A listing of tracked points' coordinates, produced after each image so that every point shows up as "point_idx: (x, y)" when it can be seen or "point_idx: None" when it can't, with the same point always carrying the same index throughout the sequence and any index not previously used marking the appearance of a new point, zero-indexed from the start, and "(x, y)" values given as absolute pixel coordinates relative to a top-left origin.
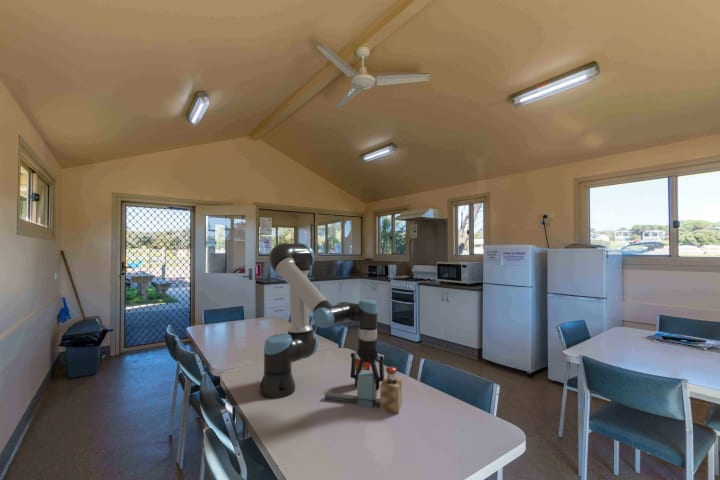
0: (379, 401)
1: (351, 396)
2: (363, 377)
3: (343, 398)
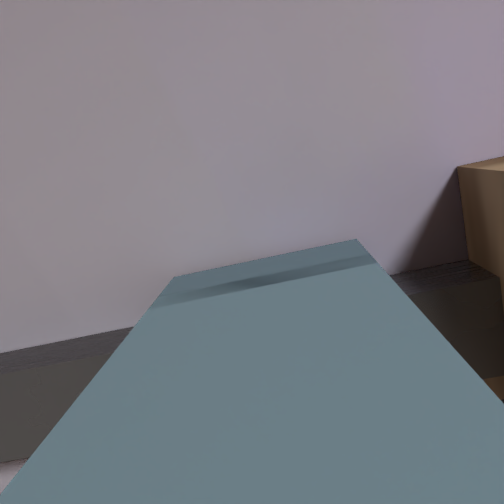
0: (469, 362)
1: (72, 395)
2: None
3: (16, 454)
